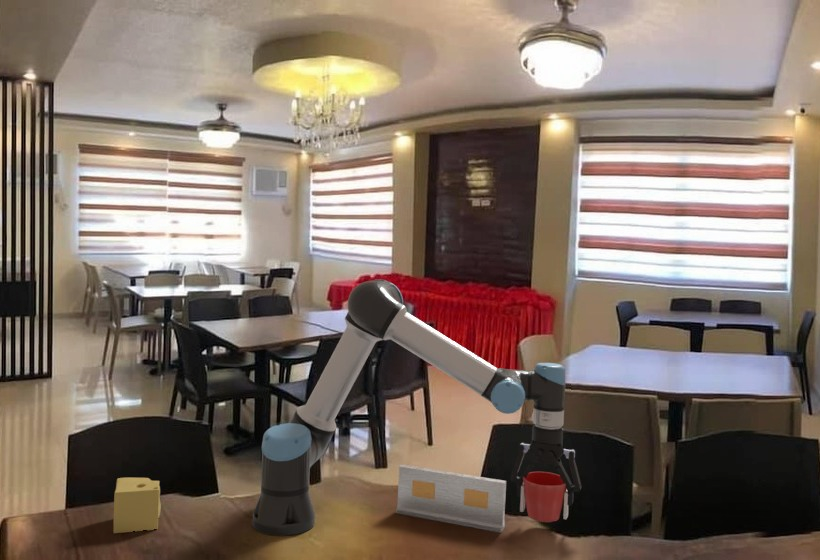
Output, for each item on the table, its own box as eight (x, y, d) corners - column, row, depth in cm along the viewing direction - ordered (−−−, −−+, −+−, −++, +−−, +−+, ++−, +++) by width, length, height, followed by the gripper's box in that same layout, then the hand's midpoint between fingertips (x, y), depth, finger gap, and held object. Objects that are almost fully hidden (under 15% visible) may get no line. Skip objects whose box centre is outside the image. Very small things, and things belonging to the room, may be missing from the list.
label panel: (395, 513, 176) (397, 467, 176) (401, 507, 180) (403, 463, 180) (501, 532, 166) (503, 484, 166) (504, 527, 170) (507, 479, 170)
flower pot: (566, 527, 163) (568, 487, 163) (520, 522, 166) (522, 482, 165) (565, 511, 174) (567, 473, 173) (522, 506, 176) (523, 469, 176)
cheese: (160, 514, 170) (161, 474, 169) (159, 531, 159) (160, 489, 159) (115, 517, 166) (116, 477, 166) (110, 535, 156) (111, 492, 156)
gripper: (499, 423, 169) (496, 510, 170) (593, 435, 161) (588, 527, 162) (506, 417, 176) (502, 501, 177) (596, 428, 168) (591, 516, 169)
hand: (543, 513), depth 170 cm, fingers closed on flower pot, 10 cm apart
